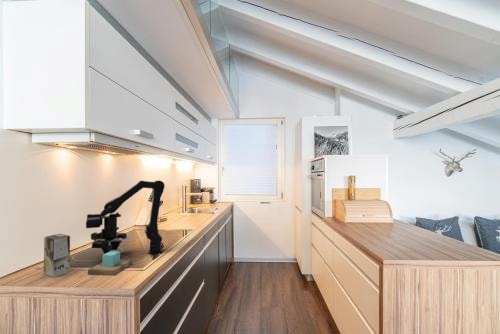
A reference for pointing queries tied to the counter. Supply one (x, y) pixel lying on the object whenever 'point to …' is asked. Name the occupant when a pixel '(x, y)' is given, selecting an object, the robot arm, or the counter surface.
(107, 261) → the teal block
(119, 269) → the walnut base
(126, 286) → the counter surface
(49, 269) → the coffee box
